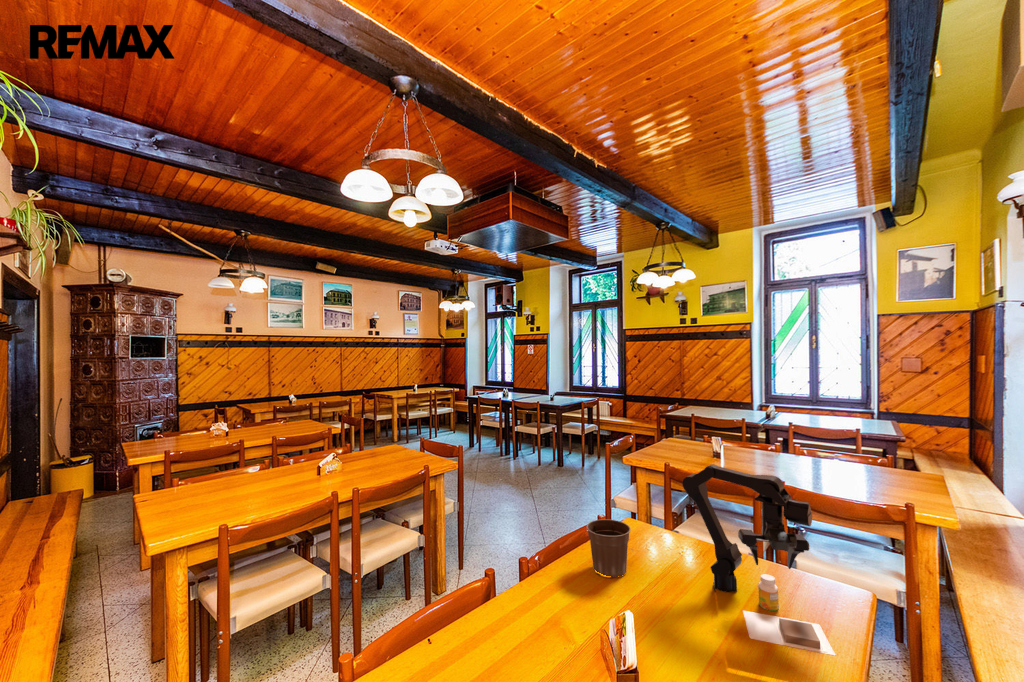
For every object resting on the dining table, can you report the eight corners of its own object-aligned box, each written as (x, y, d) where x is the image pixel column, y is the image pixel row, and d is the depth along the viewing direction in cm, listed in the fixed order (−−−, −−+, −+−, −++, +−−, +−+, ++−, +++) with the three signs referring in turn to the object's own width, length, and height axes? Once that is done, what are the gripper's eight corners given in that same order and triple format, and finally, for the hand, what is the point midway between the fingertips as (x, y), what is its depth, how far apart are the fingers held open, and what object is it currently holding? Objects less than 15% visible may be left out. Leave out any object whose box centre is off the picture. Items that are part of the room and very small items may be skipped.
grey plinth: (785, 642, 117) (785, 634, 117) (779, 625, 124) (779, 618, 125) (820, 649, 114) (820, 641, 114) (811, 631, 122) (811, 624, 122)
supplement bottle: (755, 604, 137) (754, 573, 137) (770, 603, 137) (769, 572, 137) (766, 614, 131) (765, 582, 132) (782, 613, 132) (781, 581, 132)
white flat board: (749, 641, 119) (749, 637, 119) (742, 612, 132) (742, 610, 132) (836, 658, 112) (835, 655, 112) (819, 627, 125) (819, 623, 125)
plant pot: (580, 574, 157) (579, 530, 157) (596, 556, 170) (595, 516, 171) (624, 586, 148) (622, 539, 149) (636, 566, 162) (635, 523, 162)
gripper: (747, 524, 130) (748, 575, 129) (817, 530, 125) (817, 583, 125) (737, 510, 141) (738, 558, 140) (801, 516, 136) (802, 565, 136)
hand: (772, 566), depth 135 cm, fingers open, 9 cm apart
